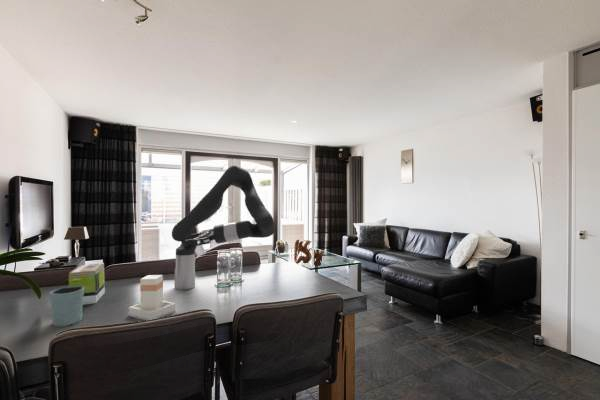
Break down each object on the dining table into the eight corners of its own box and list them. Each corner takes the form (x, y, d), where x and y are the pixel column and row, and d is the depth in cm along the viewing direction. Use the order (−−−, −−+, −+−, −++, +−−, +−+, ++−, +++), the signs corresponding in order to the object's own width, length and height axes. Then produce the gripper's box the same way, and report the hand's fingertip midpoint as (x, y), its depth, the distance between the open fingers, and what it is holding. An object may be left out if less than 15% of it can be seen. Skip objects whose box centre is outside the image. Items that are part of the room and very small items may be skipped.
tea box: (80, 295, 139) (80, 264, 139) (105, 293, 143) (105, 262, 142) (68, 306, 125) (68, 272, 125) (96, 303, 128) (96, 270, 128)
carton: (140, 315, 114) (140, 279, 114) (147, 309, 120) (147, 275, 120) (156, 315, 114) (156, 278, 114) (163, 309, 120) (162, 274, 120)
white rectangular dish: (128, 315, 115) (128, 307, 115) (153, 306, 125) (153, 298, 125) (150, 322, 109) (150, 312, 109) (175, 311, 119) (175, 303, 119)
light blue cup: (60, 329, 103) (60, 295, 103) (43, 324, 107) (43, 291, 107) (90, 318, 113) (90, 287, 113) (73, 314, 117) (73, 284, 116)
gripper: (227, 220, 128) (190, 227, 127) (221, 228, 114) (179, 236, 113) (231, 236, 130) (194, 243, 129) (226, 246, 116) (184, 254, 115)
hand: (187, 240), depth 121 cm, fingers open, 8 cm apart
